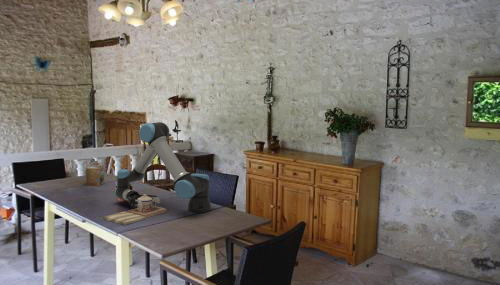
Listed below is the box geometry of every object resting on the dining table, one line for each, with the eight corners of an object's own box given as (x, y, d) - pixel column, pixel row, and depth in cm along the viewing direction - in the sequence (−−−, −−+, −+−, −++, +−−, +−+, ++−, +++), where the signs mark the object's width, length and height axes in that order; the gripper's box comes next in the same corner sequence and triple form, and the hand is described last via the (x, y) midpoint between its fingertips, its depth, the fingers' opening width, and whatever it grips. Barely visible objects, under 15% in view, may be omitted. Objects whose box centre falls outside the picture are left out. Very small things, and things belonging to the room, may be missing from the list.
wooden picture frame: (166, 211, 260) (166, 208, 260) (144, 218, 245) (144, 214, 245) (149, 207, 268) (149, 204, 268) (127, 213, 253) (127, 210, 253)
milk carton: (99, 186, 328) (99, 162, 326) (86, 185, 328) (85, 161, 326) (104, 183, 338) (104, 160, 336) (91, 183, 338) (91, 159, 336)
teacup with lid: (141, 216, 249) (141, 197, 248) (134, 212, 256) (134, 194, 255) (159, 212, 257) (159, 194, 256) (152, 209, 264) (152, 191, 263)
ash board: (145, 219, 243) (145, 216, 243) (124, 225, 231) (124, 222, 231) (124, 213, 253) (124, 211, 253) (103, 219, 241) (103, 216, 240)
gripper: (147, 198, 277) (166, 205, 263) (114, 204, 260) (133, 212, 245) (147, 187, 277) (167, 193, 262) (114, 193, 259) (133, 199, 244)
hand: (150, 202), depth 253 cm, fingers closed on teacup with lid, 12 cm apart
